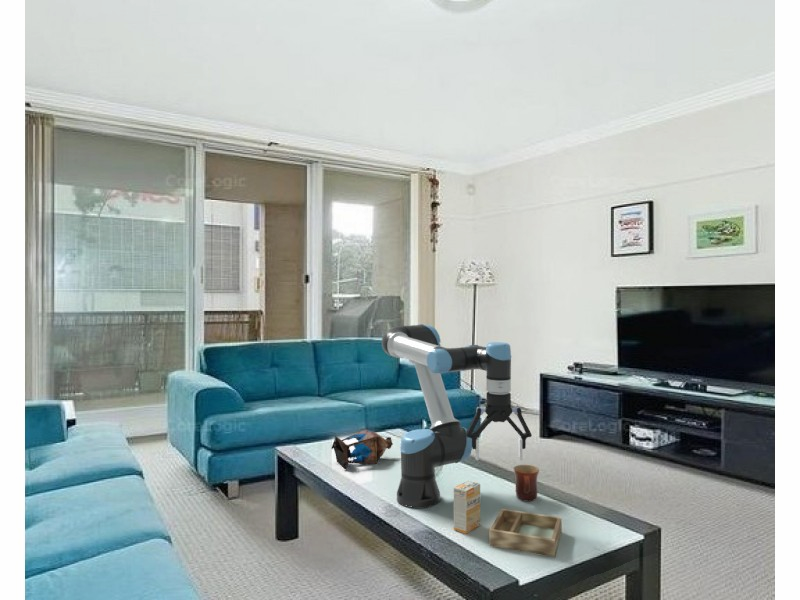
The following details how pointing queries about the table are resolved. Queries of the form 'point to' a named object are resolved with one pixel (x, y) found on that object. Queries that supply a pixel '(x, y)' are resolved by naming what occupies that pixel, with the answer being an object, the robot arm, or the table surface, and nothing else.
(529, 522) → the frame
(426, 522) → the table surface
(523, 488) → the mug
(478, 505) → the supplement box
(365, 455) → the lantern
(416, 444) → the robot arm
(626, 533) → the table surface
